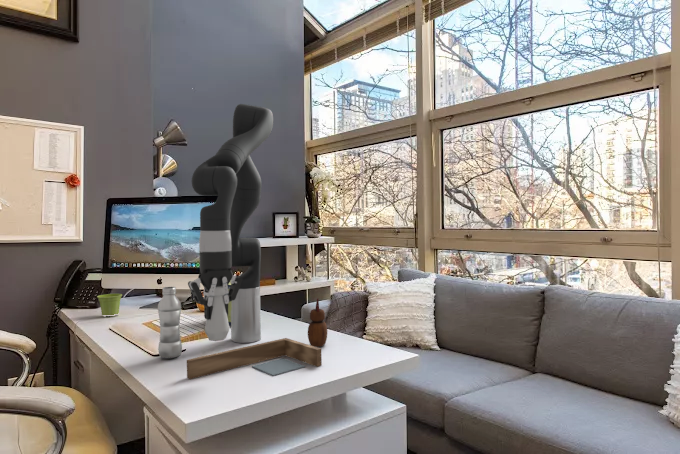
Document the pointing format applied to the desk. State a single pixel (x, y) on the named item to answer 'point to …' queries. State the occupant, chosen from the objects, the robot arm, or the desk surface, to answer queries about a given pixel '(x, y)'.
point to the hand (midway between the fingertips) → (216, 319)
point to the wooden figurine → (317, 327)
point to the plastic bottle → (169, 324)
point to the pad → (278, 366)
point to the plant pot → (109, 303)
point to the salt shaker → (217, 317)
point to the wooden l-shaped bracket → (253, 356)
